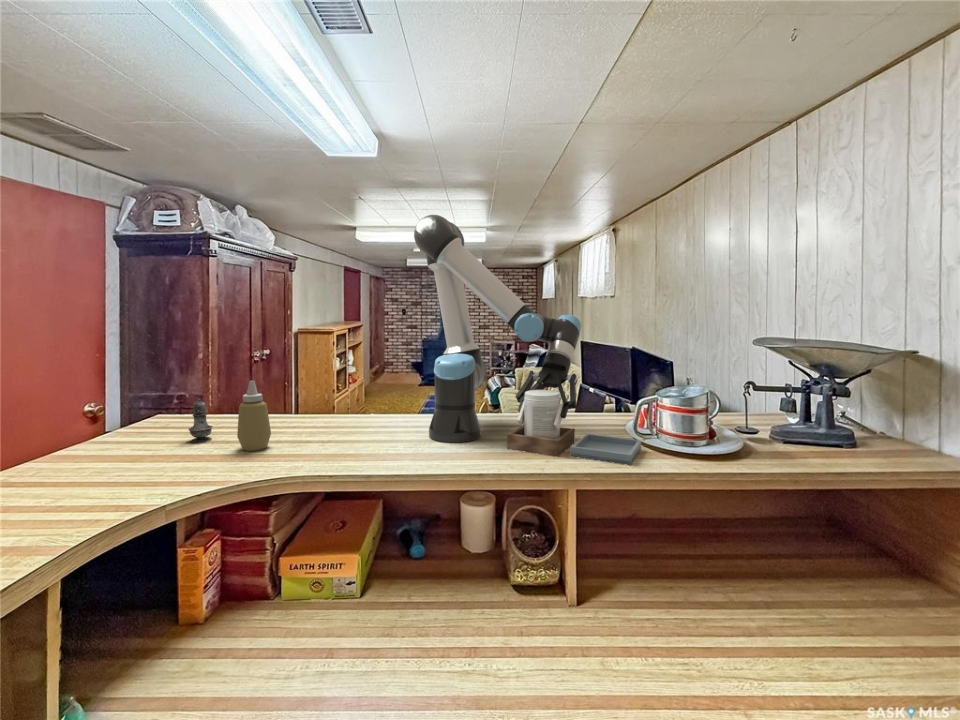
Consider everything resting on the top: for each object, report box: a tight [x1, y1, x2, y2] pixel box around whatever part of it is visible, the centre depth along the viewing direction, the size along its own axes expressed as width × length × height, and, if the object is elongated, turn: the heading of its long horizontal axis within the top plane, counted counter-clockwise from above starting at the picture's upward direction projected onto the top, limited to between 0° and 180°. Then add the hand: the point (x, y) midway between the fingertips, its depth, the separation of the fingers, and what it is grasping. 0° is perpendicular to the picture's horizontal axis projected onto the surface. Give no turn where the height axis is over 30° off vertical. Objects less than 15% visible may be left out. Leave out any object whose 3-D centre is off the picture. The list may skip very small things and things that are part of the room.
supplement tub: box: [523, 389, 561, 440], centre depth 127 cm, size 10×10×15 cm
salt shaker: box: [187, 398, 214, 444], centre depth 132 cm, size 6×6×12 cm
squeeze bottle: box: [236, 380, 272, 452], centre depth 125 cm, size 8×8×18 cm
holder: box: [506, 424, 576, 458], centre depth 128 cm, size 14×14×4 cm
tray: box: [570, 433, 642, 466], centre depth 122 cm, size 15×15×2 cm
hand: (537, 425), depth 125 cm, fingers closed on supplement tub, 9 cm apart
